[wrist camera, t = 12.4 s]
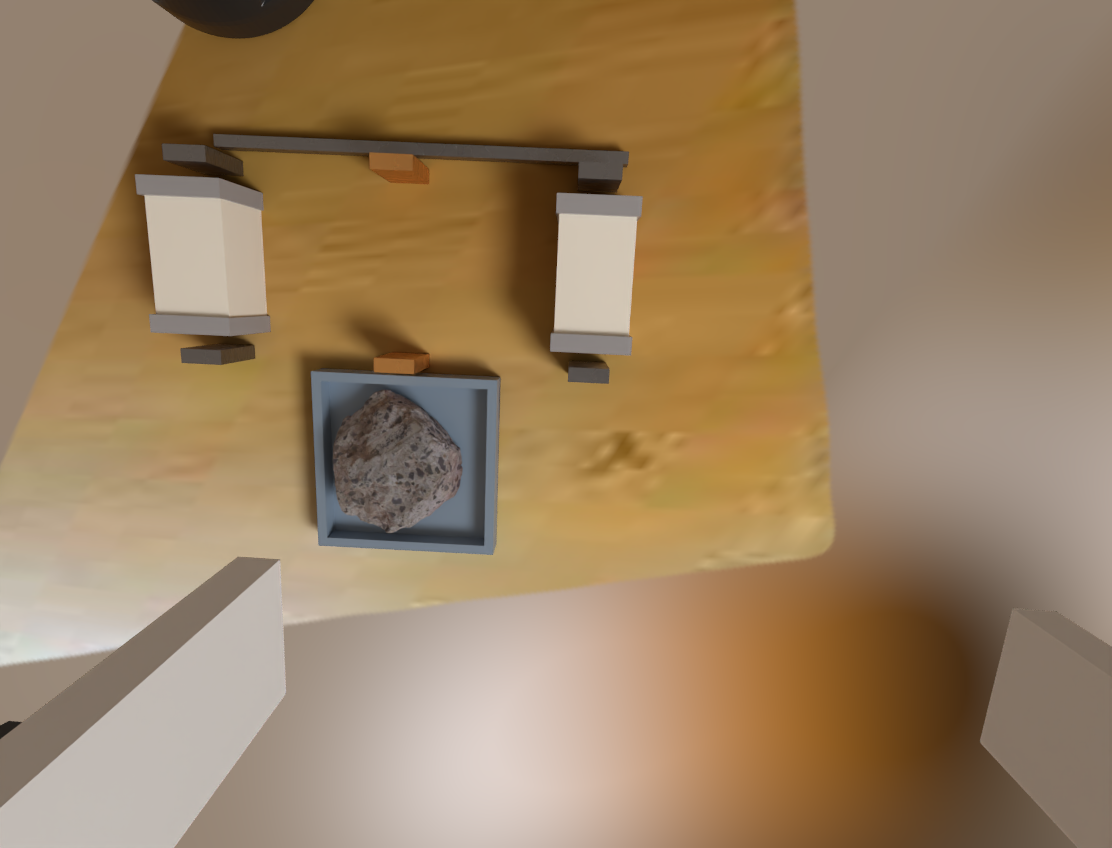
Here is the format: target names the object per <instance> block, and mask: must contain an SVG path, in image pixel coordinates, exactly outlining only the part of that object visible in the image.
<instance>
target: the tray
mask: <svg viewBox="0 0 1112 848" xmlns="http://www.w3.org/2000/svg"><path fill="white" fill-rule="evenodd" d="M311 385H312V407H313V430H314V453H315V475H316V498H317V521H318V544H319V546H337V547H356V548H375V549H394V550H412V551H431V552H450V553H468V554H487V555H493V553H494V550H495V547H496V532H497V493H498V453H499V414H500V377H492V376H472V375H451V374H431V373H415V374H401V373H380V372H374V371H369V370H349V369H328V368H321V369H318V370H314V371H311ZM383 389H386V390H391V392H394V393H395V394H399V395H402V396H403V397H405V398H407V399H408V400H410V401H411V402H413V403H415V404H416V405H417V406H419V407H421V408H423V409H424V410H425V411H426V412H427V414H428V415H429V416H430V417H433V418H434V419H435V420H436V421H438V423H439V424H440V425H441V426H442V427H443V429H445V430H446V431H447V432H448V434H449V436H450V437H451V438H452V440H453V442H454V443H455V444H456V445H457V446H458V447H460V451H461V456H462V464H461V466H462V467H463V472H462V476H461V481H460V487H459V489H458V491H457V493H456V495H455V496H454V497H453V498H451V499H449V500H447V501H445V502H444V503H443V504H442V505H441V506H440V507H439V508H438V509H436V510H435V511H434V512H433V513H432V514H431V515H430V516H427V517H425V518H424V519H421V520H420V521H419V522H418V523H416V524H415V525H413V526H412V527H409V528H407V527H405V528H401V529H399V530H398V531H396V532H393V533H386V531H385V530H384V529H382V528H381V527H379V526H377V525H374V524H369V523H367V522H364V521H362V520H360V519H359V517H358V516H356V515H354V516H351V515H347V514H345V513H344V512H343V511H342V510H341V508H340V506H339V503H338V500H337V495H336V487H335V475H334V470H333V467H334V465H333V447H334V441H335V439H336V436H337V432H338V430H339V428H340V426H341V424H342V421H343V419H344V418H345V417H346V416H348V415H350V416H352V415H353V414H354V413H355V412H356V411H358V410H359V409H361V408H362V407H363V406H364V404H365V401H367V400H368V399H369V398H370V396H371V395H372V394H373V393H374V392H377V391H380V390H383Z"/></svg>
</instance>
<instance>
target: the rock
mask: <svg viewBox="0 0 1112 848" xmlns="http://www.w3.org/2000/svg"><path fill="white" fill-rule="evenodd" d="M461 464H462V456H461V451H460V447H458V446H457V445H456V444H455V443H454V442H453V440H452V438H451V437H450V436H449V434H448V432H447V431H446V430H445V429H443V427H442V426H441V425H440V424H439V423H438V421H436V420H435V419H434V418H433V417H430V416H429V415H428V414H427V412H426V411H425V410H424V409H423V408H421V407H419V406H417V405H416V404H415V403H413V402H411V401H410V400H408V399H407V398H405V397H403V396H402V395H399V394H395V393H394V392H391V390H386V389H383V390H380V391H377V392H374V393H373V394H372V395H371V396H370V398H369V399H368V400H367V401H365V404H364V406H363V407H362V408H361V409H359V410H358V411H356V412H355V413H354V414H353V415H352V416H350V415H348V416H346V417H345V418H344V419H343V421H342V424H341V426H340V428H339V430H338V432H337V436H336V439H335V441H334V447H333V465H334V467H333V470H334V475H335V487H336V495H337V500H338V503H339V506H340V508H341V510H342V511H343V512H344V513H345V514H347V515H351V516H354V515H356V516H358V517H359V519H360V520H362V521H364V522H367V523H369V524H374V525H377V526H379V527H381V528H382V529H384V530H385V531H386V533H393V532H396V531H398V530H399V529H401V528H405V527H407V528H409V527H412V526H413V525H415V524H416V523H418V522H419V521H420V520H421V519H424V518H425V517H427V516H430V515H431V514H432V513H433V512H434V511H435V510H436V509H438V508H439V507H440V506H441V505H442V504H443V503H444V502H445V501H447V500H449V499H451V498H453V497H454V496H455V495H456V493H457V491H458V489H459V487H460V481H461V476H462V472H463V467H462V466H461Z"/></svg>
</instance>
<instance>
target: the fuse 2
mask: <svg viewBox="0 0 1112 848" xmlns="http://www.w3.org/2000/svg"><path fill="white" fill-rule="evenodd" d="M641 210H642V196H621V195H598V194H575V193H557V203H556V215H557V221H558V224H559V232H558V255H557V277H556V300H555V323H554V329H553V331H552V332H551V341H550V351H551V352H571V353H592V354H613V355H631V348H632V337H631V336H629V325H630V311H631V297H632V283H633V269H634V255H635V241H636V227H637V221H638V220H639V218H640V217H641Z"/></svg>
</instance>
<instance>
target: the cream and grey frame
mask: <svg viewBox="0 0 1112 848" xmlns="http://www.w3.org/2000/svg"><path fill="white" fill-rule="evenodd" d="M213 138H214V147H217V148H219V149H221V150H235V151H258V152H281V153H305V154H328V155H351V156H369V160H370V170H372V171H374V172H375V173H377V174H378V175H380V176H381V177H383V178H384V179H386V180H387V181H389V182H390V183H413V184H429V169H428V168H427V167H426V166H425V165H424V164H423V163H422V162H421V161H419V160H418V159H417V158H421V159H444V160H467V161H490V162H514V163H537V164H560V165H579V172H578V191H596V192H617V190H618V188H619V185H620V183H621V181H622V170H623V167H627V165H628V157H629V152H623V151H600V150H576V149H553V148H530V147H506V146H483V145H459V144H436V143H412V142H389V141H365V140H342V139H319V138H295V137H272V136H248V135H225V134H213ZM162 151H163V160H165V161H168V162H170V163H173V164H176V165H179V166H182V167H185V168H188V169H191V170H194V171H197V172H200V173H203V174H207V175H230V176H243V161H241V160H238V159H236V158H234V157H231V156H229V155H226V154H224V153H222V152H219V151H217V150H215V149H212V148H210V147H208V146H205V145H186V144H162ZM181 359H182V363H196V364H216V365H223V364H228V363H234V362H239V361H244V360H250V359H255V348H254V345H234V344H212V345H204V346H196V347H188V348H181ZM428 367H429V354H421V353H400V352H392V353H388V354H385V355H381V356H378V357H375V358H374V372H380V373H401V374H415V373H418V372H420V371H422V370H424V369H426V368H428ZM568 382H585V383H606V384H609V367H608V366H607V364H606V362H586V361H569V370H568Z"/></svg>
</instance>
